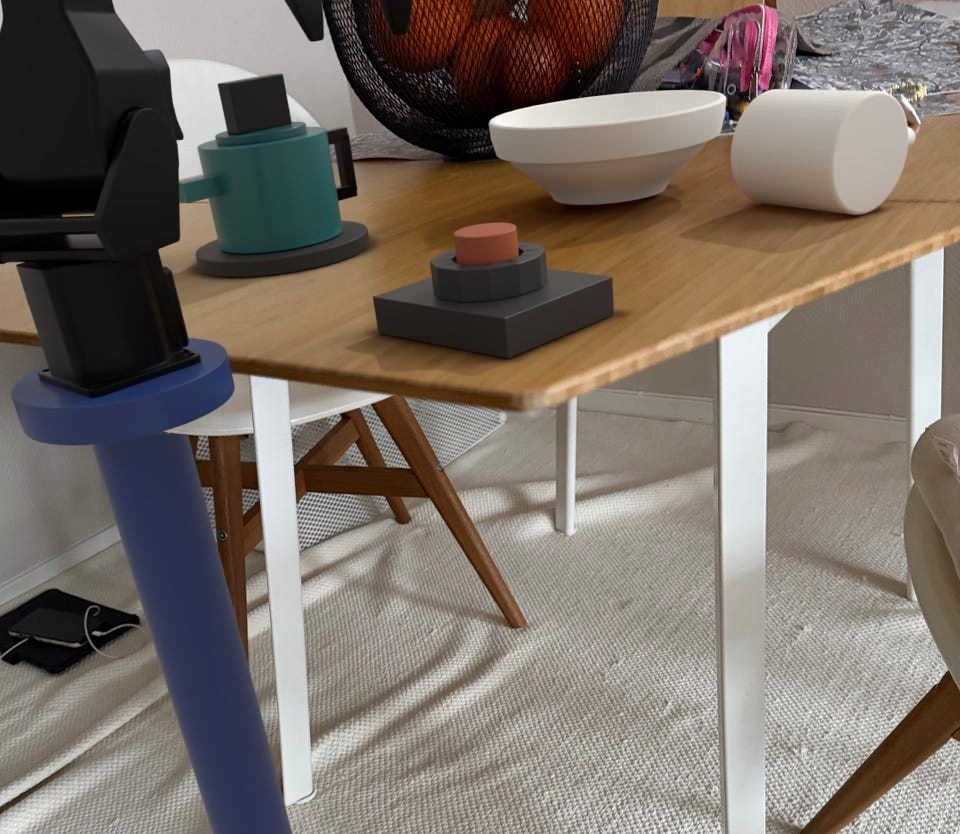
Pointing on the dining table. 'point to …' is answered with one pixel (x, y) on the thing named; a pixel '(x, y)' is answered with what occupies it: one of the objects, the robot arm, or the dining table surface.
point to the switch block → (494, 304)
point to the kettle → (270, 172)
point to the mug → (821, 149)
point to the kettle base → (283, 255)
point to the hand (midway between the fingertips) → (356, 38)
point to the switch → (486, 243)
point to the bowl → (608, 142)
